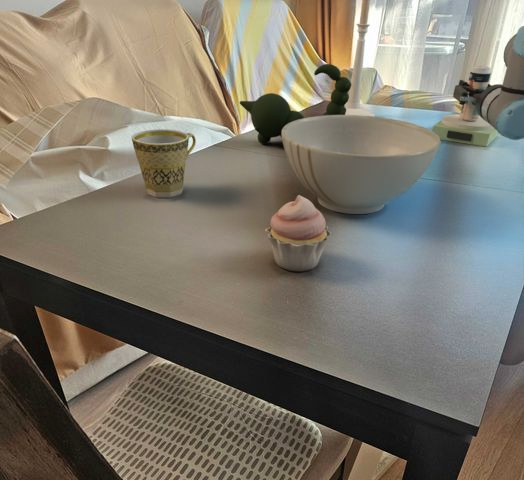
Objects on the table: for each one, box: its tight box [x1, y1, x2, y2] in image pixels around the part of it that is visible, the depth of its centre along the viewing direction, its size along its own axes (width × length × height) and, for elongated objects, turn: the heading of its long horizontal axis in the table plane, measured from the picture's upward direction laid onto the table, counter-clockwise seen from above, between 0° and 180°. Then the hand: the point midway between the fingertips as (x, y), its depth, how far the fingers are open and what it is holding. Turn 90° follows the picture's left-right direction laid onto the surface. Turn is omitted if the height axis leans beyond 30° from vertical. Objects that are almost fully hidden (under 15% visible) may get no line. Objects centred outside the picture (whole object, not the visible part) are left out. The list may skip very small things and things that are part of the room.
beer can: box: [459, 65, 492, 122], centre depth 127 cm, size 5×5×12 cm
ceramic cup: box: [131, 128, 197, 199], centre depth 93 cm, size 13×10×10 cm
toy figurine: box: [239, 63, 352, 145], centre depth 117 cm, size 9×19×25 cm
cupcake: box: [264, 194, 332, 272], centre depth 71 cm, size 9×9×10 cm
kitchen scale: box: [431, 113, 499, 148], centre depth 132 cm, size 14×14×4 cm
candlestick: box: [344, 0, 375, 117], centre depth 139 cm, size 13×13×30 cm
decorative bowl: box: [281, 115, 441, 215], centre depth 90 cm, size 27×27×12 cm
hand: (470, 86), depth 131 cm, fingers closed on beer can, 5 cm apart
